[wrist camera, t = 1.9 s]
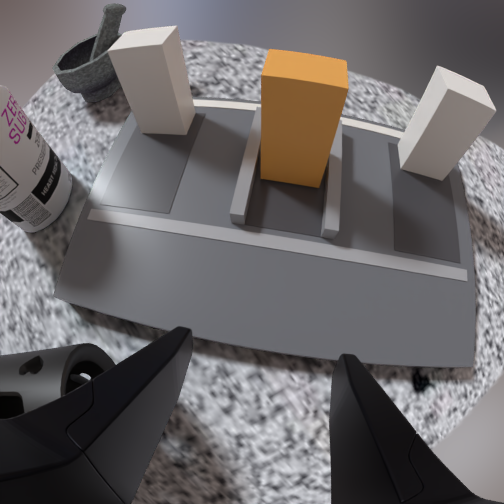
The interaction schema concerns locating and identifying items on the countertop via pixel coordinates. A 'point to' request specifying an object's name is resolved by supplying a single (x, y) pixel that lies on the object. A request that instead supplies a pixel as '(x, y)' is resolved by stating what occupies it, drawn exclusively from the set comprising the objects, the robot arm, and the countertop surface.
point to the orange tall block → (300, 114)
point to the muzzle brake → (46, 375)
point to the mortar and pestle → (93, 60)
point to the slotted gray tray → (281, 224)
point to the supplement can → (28, 171)
